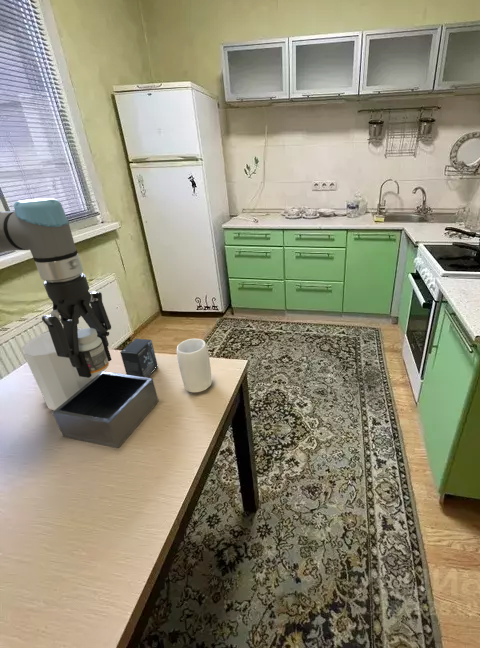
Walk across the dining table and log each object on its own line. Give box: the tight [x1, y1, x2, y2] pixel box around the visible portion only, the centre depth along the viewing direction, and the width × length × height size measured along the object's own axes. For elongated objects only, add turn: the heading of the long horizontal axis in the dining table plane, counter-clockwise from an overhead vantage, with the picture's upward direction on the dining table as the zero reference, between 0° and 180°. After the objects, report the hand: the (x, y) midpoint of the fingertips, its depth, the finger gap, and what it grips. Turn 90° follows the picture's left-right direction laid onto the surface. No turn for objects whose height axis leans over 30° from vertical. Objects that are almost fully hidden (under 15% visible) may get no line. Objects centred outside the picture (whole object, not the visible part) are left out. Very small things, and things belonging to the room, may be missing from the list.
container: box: [21, 326, 100, 411], centre depth 90 cm, size 14×14×18 cm
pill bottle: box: [78, 327, 110, 375], centre depth 75 cm, size 6×6×10 cm
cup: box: [176, 338, 213, 393], centre depth 92 cm, size 8×8×14 cm
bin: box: [51, 370, 159, 449], centre depth 83 cm, size 16×16×8 cm
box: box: [120, 338, 159, 378], centre depth 99 cm, size 8×6×11 cm
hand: (96, 367), depth 77 cm, fingers closed on pill bottle, 6 cm apart
